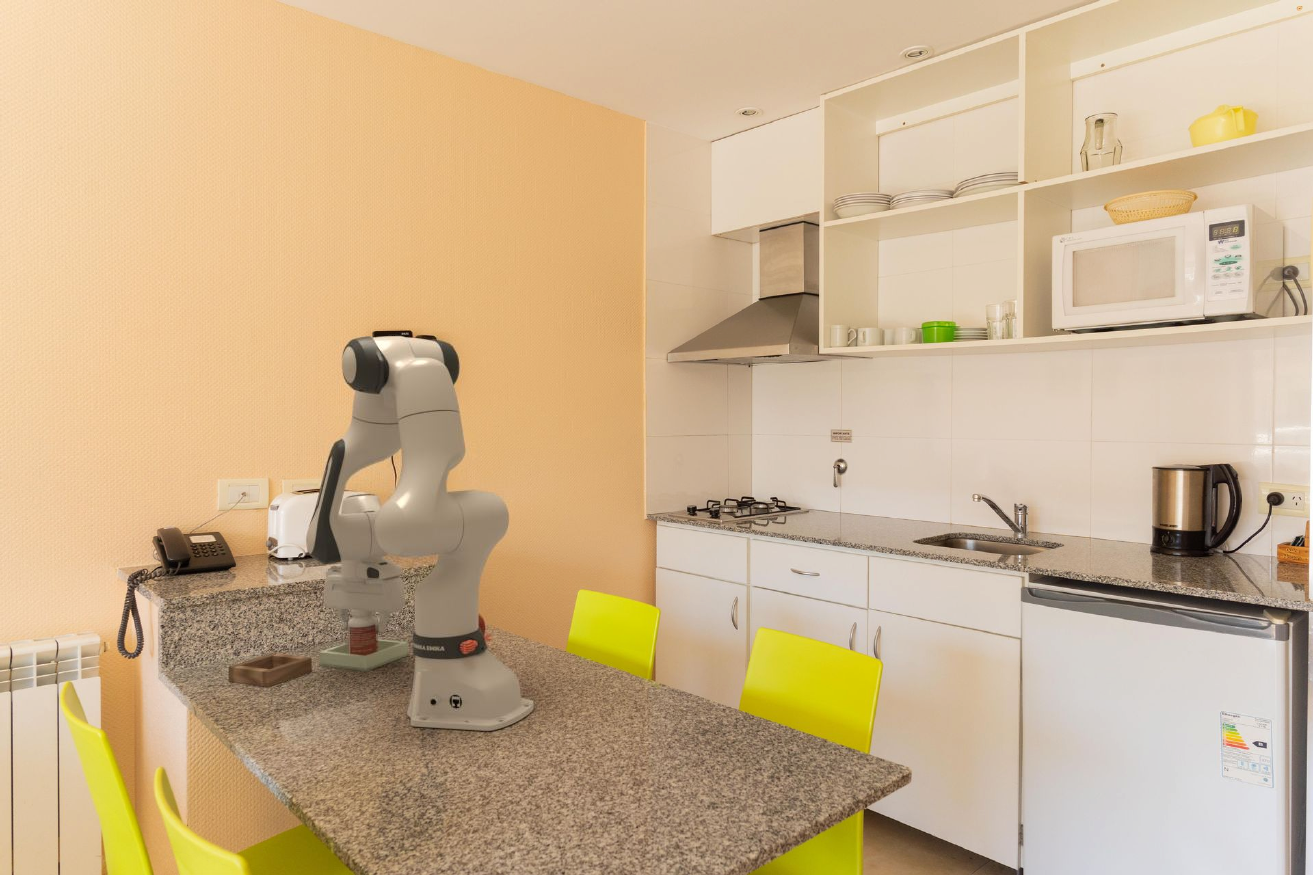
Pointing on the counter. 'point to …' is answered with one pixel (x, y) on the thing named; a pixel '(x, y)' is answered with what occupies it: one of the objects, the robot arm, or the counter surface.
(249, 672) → the collar
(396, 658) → the tray
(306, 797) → the counter surface
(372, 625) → the pill bottle
